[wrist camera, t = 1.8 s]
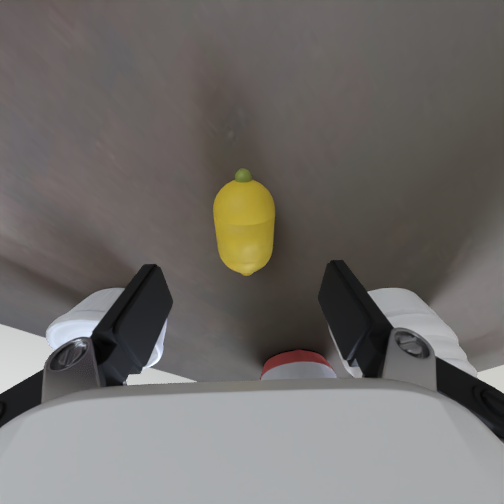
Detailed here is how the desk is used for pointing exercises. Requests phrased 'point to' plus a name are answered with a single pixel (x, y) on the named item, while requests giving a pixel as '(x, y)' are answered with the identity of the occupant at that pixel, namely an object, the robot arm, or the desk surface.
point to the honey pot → (417, 326)
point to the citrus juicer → (297, 366)
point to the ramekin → (92, 321)
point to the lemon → (244, 223)
